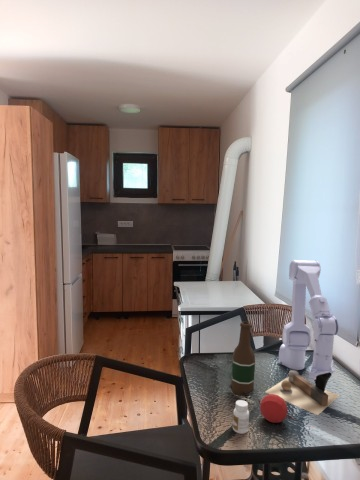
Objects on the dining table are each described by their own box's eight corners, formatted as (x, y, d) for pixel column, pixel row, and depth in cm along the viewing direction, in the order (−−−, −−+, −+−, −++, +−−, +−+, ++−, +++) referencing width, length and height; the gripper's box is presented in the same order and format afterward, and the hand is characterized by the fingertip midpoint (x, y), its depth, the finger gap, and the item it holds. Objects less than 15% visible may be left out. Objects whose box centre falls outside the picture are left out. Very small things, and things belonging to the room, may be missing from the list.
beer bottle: (255, 388, 123) (259, 321, 121) (250, 399, 116) (254, 328, 114) (234, 383, 126) (237, 317, 124) (227, 393, 119) (231, 324, 117)
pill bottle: (230, 424, 102) (232, 399, 101) (245, 424, 103) (247, 398, 102) (234, 434, 98) (236, 407, 97) (250, 434, 98) (251, 407, 97)
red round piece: (274, 400, 100) (278, 383, 107) (252, 409, 104) (257, 392, 110) (291, 423, 100) (294, 405, 106) (269, 431, 103) (273, 413, 110)
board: (264, 396, 119) (265, 381, 118) (289, 380, 131) (290, 366, 130) (317, 420, 106) (318, 404, 106) (339, 399, 118) (340, 385, 118)
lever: (286, 379, 127) (287, 370, 127) (294, 378, 128) (294, 369, 128) (320, 405, 111) (321, 395, 110) (329, 404, 112) (329, 394, 111)
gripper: (326, 363, 107) (322, 406, 109) (344, 351, 117) (340, 390, 119) (303, 356, 112) (300, 397, 113) (322, 344, 122) (319, 382, 124)
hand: (319, 393), depth 116 cm, fingers closed, pressing on lever
